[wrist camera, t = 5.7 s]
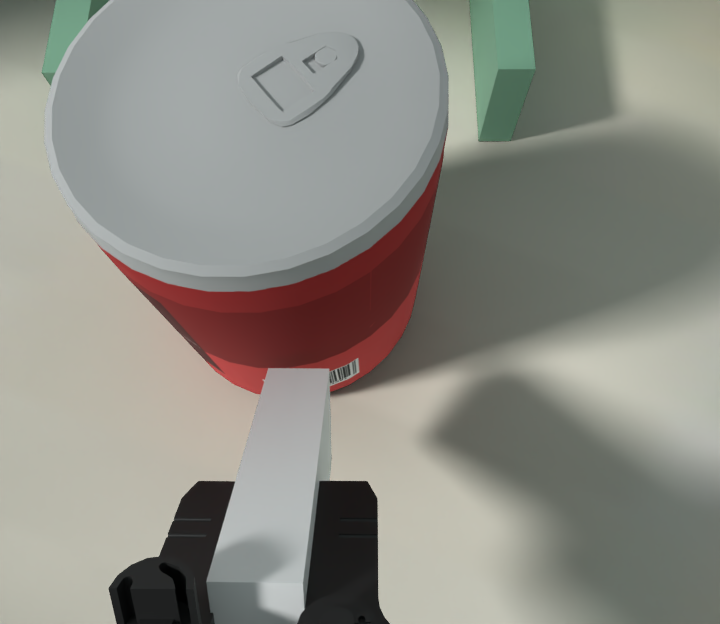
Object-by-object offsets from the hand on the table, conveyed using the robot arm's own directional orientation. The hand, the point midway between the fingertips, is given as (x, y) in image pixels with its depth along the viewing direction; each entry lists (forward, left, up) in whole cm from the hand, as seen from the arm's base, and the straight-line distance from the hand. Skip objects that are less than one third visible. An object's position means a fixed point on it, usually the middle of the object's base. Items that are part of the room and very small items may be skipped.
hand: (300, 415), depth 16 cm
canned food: (-1, +5, -5) cm, 7 cm away
